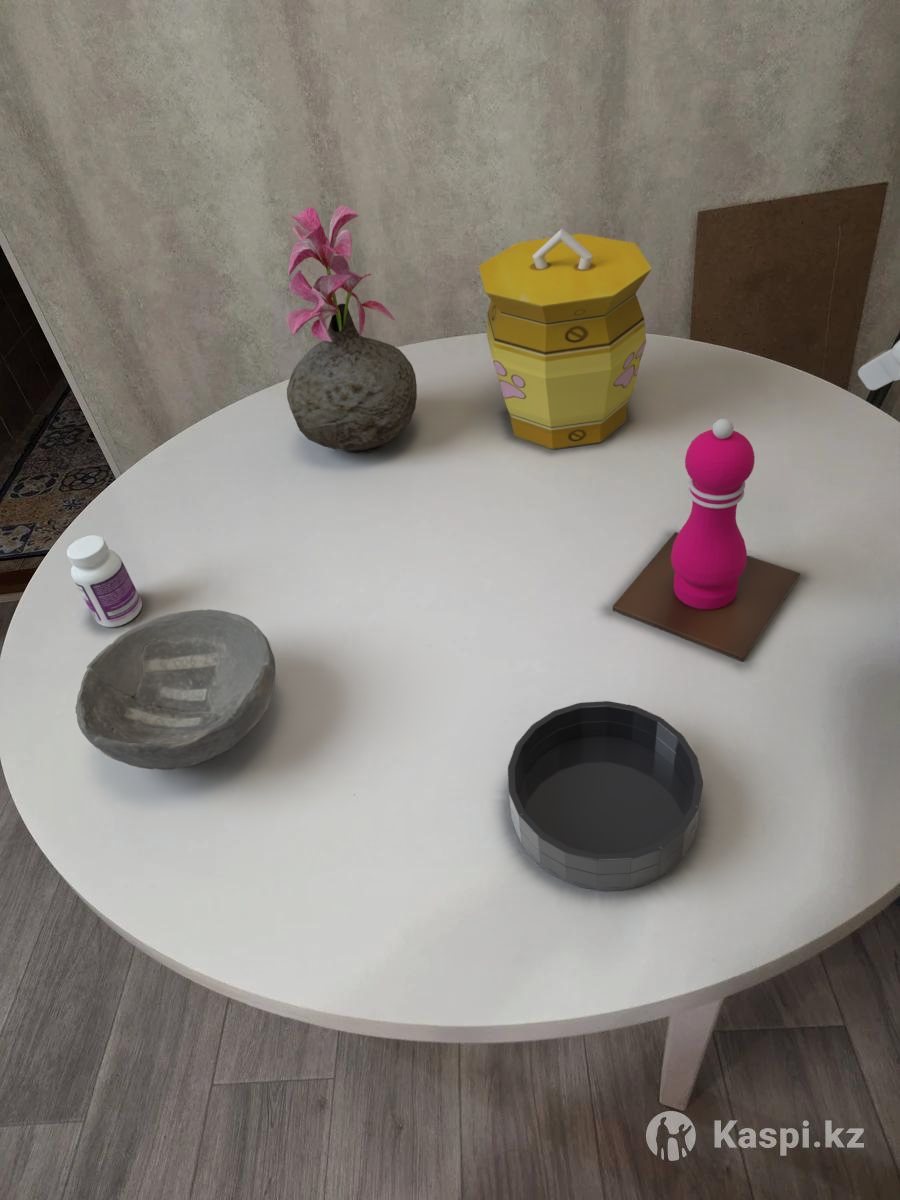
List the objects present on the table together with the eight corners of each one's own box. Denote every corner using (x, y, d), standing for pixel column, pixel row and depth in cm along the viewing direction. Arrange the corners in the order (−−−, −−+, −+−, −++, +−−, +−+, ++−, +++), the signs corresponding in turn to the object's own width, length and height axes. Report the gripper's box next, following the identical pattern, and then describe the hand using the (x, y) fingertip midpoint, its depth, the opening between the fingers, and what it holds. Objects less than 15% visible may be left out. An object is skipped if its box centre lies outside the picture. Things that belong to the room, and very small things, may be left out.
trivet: (799, 577, 89) (800, 572, 89) (743, 662, 82) (743, 657, 81) (674, 535, 96) (675, 531, 96) (612, 610, 89) (612, 606, 89)
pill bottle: (149, 595, 99) (118, 529, 93) (134, 627, 95) (100, 561, 89) (105, 597, 100) (71, 531, 93) (88, 629, 96) (51, 563, 90)
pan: (728, 783, 72) (734, 750, 69) (641, 927, 64) (643, 897, 61) (572, 709, 80) (571, 676, 77) (476, 829, 72) (470, 798, 69)
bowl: (298, 650, 90) (280, 593, 84) (279, 792, 77) (256, 736, 71) (130, 667, 91) (101, 612, 85) (83, 811, 78) (45, 757, 72)
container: (511, 374, 128) (498, 197, 111) (656, 382, 121) (666, 196, 104) (469, 453, 113) (447, 264, 96) (631, 467, 107) (638, 267, 90)
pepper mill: (731, 563, 91) (754, 394, 78) (750, 610, 86) (778, 437, 72) (662, 570, 92) (673, 403, 78) (676, 617, 86) (691, 447, 73)
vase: (285, 471, 115) (219, 244, 95) (328, 403, 127) (278, 189, 107) (405, 476, 111) (362, 240, 91) (438, 406, 123) (407, 184, 103)
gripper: (1128, 123, 53) (922, 255, 65) (1029, 242, 43) (805, 374, 55) (1182, 207, 54) (968, 323, 66) (1098, 344, 44) (861, 453, 55)
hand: (893, 347), depth 60 cm, fingers open, 8 cm apart
